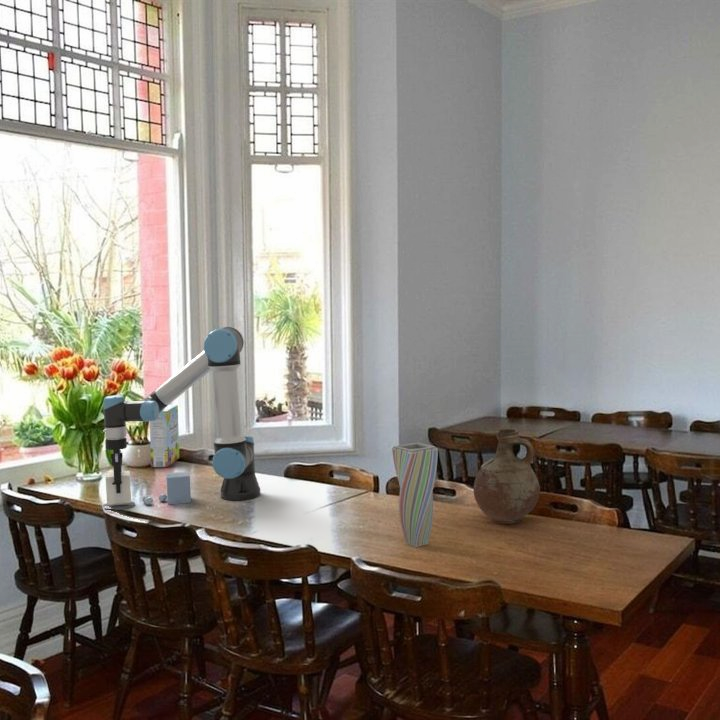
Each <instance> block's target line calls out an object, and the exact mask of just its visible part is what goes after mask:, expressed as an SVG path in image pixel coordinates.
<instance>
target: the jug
mask: <svg viewBox="0 0 720 720" xmlns="http://www.w3.org/2000/svg"><path fill="white" fill-rule="evenodd" d="M495 436H496V438H497V439H496V440H497V441H498V442H497V446H496V451H495V455H494V456H492V457H491V458H490V459H488V460H487V461H485V462H484V463H482V465H480V468H479V470H478V472H477V474H476V476H475V479H474V483H473V497H474V500H475V502H476V504H477V506H478V509H480V510H481V511H482V513H484V514H485V515H486V516H487V517H489V518H491V521H492V522H493V523H494V524H500V525H501V524H502V525H507V524H508V525H511V524H512V525H513V524H517V523H520V522H521V521H522V518H524V517H526V516H527V515H529V513H531V512H532V511H533V509H534V508H536V506H537V504H538V501H539V500H540V498H539V497H540V494H541V487H540V483H539V480H538V478H537V475H536V473H535V472H534V469H533V468H532V466H531V464H532V462H533V460H534V455H535V448H534V445H533V444H532V443H531V441H529V440H528V439H526V438H523V437H522V438H521V437H520V435H519V430H518V429H515V428H501V429H499V431H498V432H497V433H496V435H495ZM514 445H519V446H520V445H521V446H523V447H524V448H526V454H525V456H524V457H523V458H520V457H518V456H517V455H515V453H514V449H513V446H514Z"/></svg>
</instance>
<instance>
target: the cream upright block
mask: <svg viewBox="0 0 720 720" xmlns="http://www.w3.org/2000/svg"><path fill="white" fill-rule="evenodd" d="M130 473H131V471H130V470H125V471H123V470H122V472H121V481H122V493H123V501H122V502H115V489H114V485H112V483H114V471H112V472H111V471H109V472H105V491H106V504H107V505H108V504H119V503H130V502H131V501H132V491H131V474H130Z"/></svg>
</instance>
